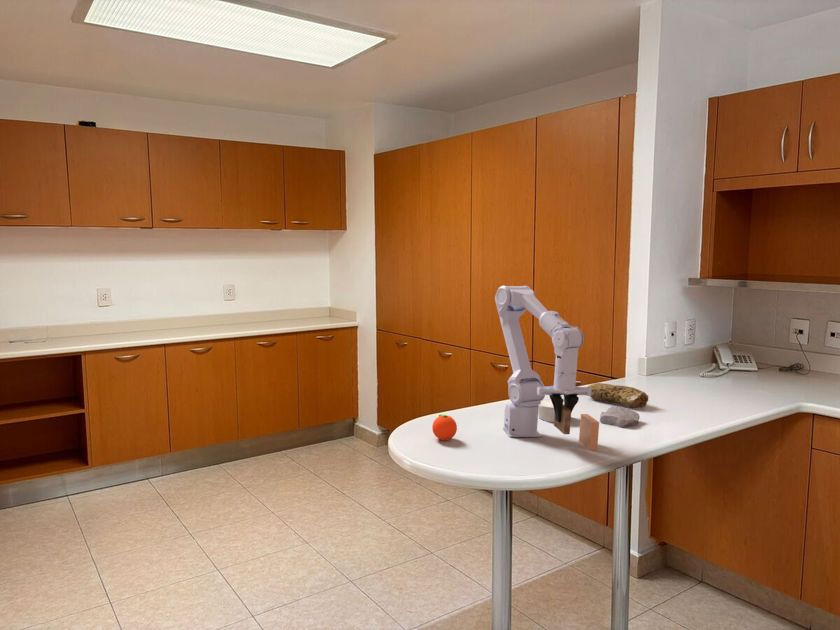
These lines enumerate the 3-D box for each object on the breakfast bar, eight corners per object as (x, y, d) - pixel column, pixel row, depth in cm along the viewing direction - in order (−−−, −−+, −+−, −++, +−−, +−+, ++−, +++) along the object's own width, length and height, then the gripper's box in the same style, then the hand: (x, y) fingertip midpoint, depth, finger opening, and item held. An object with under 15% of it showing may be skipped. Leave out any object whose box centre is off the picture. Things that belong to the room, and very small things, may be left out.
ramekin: (529, 418, 195) (530, 402, 194) (546, 412, 204) (546, 396, 203) (561, 426, 188) (562, 409, 187) (577, 419, 197) (578, 403, 196)
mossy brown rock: (649, 410, 216) (605, 386, 232) (652, 391, 213) (608, 368, 229) (624, 421, 209) (580, 396, 225) (626, 401, 206) (582, 377, 222)
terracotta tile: (589, 450, 166) (591, 422, 165) (578, 441, 174) (580, 413, 173) (597, 450, 167) (599, 422, 166) (586, 441, 174) (588, 413, 173)
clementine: (426, 435, 174) (427, 411, 173) (447, 433, 176) (449, 409, 176) (438, 444, 166) (439, 419, 166) (460, 442, 169) (461, 417, 168)
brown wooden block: (563, 434, 162) (565, 410, 161) (553, 425, 170) (555, 402, 169) (569, 434, 162) (571, 410, 161) (559, 425, 170) (560, 402, 169)
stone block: (640, 427, 197) (611, 415, 203) (644, 413, 195) (614, 402, 201) (626, 436, 188) (596, 423, 194) (630, 422, 186) (600, 410, 192)
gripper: (544, 374, 159) (540, 425, 161) (597, 375, 161) (593, 425, 162) (535, 369, 166) (532, 417, 168) (586, 369, 168) (583, 417, 169)
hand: (562, 421), depth 165 cm, fingers closed on brown wooden block, 2 cm apart
